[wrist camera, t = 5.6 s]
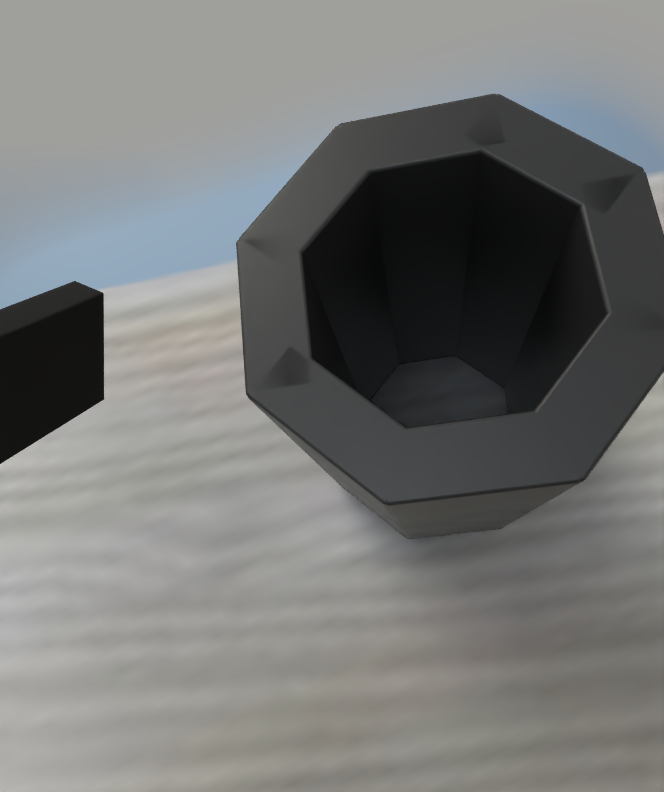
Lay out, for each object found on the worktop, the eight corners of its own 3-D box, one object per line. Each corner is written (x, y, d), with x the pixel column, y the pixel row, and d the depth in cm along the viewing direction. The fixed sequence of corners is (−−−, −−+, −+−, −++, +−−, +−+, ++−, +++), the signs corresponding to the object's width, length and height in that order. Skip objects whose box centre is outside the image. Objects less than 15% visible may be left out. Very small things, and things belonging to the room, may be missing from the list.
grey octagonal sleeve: (525, 312, 21) (617, 67, 11) (569, 521, 19) (734, 464, 9) (323, 343, 22) (229, 143, 12) (344, 546, 20) (253, 521, 10)
